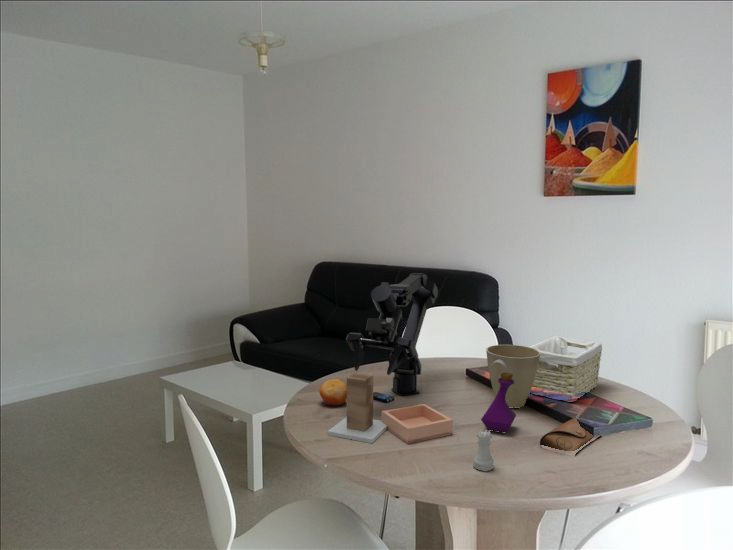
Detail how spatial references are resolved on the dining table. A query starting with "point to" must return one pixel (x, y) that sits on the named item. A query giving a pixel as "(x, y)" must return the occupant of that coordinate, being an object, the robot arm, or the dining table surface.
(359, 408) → the walnut block
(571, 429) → the sunglasses case
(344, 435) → the light grey board
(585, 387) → the storage basket
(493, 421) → the perfume bottle
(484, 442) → the rook chess piece
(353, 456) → the dining table surface
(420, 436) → the box
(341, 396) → the fruit
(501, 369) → the plant pot
